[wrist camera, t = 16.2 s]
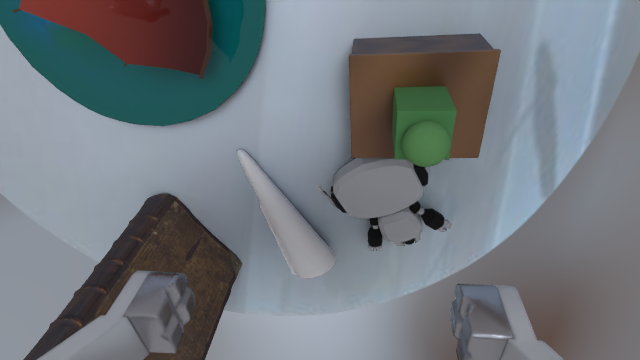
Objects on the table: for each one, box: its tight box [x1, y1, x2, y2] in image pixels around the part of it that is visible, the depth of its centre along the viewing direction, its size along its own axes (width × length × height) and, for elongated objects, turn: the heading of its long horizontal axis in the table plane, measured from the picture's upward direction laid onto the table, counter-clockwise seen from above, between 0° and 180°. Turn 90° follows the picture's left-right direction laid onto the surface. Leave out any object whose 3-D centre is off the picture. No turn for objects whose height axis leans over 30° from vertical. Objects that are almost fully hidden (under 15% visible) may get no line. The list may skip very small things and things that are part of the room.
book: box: [24, 194, 242, 360], centre depth 46 cm, size 17×7×25 cm, turn 26°
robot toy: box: [317, 158, 451, 251], centre depth 46 cm, size 12×4×15 cm
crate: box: [349, 34, 501, 158], centre depth 37 cm, size 12×10×6 cm
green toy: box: [392, 86, 456, 167], centre depth 31 cm, size 4×4×8 cm
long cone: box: [237, 149, 336, 279], centre depth 49 cm, size 6×6×19 cm
